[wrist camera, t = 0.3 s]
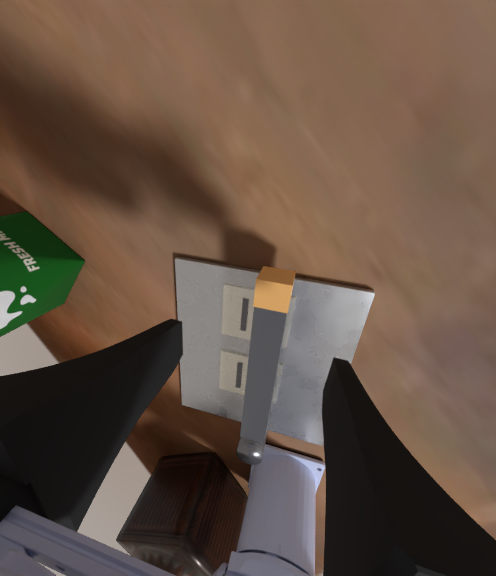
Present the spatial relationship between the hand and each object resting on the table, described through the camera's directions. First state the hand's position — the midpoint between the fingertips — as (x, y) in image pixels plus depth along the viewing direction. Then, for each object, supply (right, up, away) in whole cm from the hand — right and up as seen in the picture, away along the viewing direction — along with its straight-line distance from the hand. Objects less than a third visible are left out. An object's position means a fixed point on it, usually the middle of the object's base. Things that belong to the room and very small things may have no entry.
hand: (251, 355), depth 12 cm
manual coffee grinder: (-5, -26, +25) cm, 37 cm away
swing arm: (+1, -3, +9) cm, 10 cm away
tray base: (+1, -4, +12) cm, 13 cm away
